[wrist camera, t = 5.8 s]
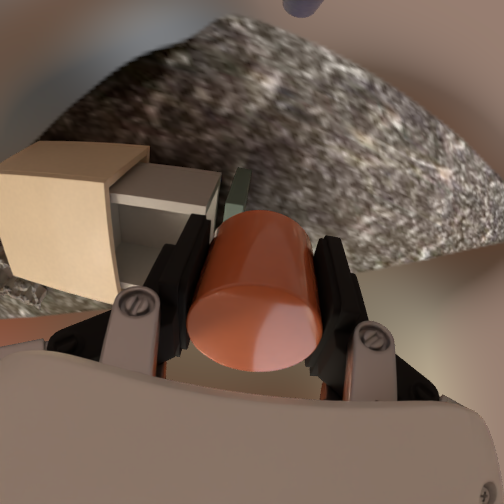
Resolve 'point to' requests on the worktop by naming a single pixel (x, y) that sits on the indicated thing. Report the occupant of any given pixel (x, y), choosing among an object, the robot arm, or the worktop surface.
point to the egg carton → (19, 284)
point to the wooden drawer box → (64, 214)
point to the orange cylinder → (257, 295)
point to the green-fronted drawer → (164, 211)
